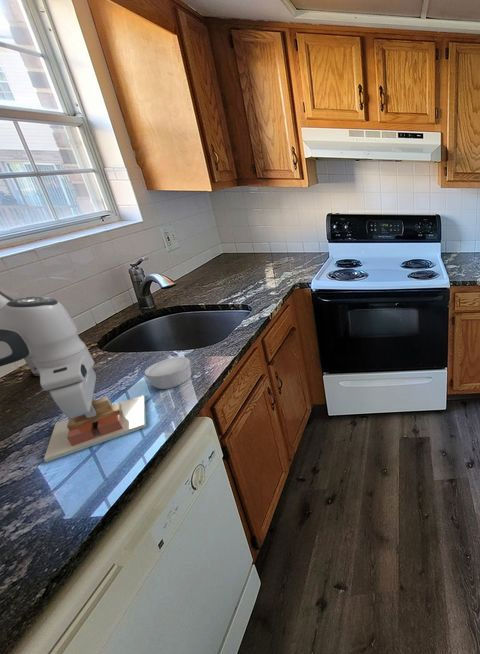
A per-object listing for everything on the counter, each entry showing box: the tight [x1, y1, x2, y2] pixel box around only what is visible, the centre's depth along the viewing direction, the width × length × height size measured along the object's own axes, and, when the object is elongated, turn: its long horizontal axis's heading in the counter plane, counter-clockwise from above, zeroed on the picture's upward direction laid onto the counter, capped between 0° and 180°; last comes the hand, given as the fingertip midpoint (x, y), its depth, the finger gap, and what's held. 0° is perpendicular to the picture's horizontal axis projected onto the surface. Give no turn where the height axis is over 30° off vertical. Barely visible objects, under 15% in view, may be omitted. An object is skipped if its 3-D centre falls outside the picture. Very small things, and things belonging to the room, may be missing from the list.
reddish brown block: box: [67, 422, 96, 446], centre depth 86 cm, size 4×4×2 cm
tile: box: [43, 394, 147, 463], centre depth 92 cm, size 18×16×1 cm
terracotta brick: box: [97, 413, 123, 435], centre depth 89 cm, size 4×4×2 cm
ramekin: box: [143, 356, 192, 390], centre depth 109 cm, size 11×11×5 cm
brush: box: [67, 396, 123, 429], centre depth 90 cm, size 10×4×6 cm, turn 128°
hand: (93, 412), depth 90 cm, fingers closed on brush, 2 cm apart
